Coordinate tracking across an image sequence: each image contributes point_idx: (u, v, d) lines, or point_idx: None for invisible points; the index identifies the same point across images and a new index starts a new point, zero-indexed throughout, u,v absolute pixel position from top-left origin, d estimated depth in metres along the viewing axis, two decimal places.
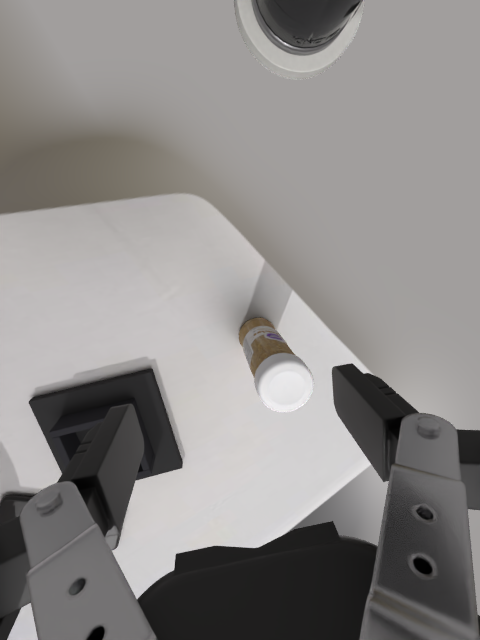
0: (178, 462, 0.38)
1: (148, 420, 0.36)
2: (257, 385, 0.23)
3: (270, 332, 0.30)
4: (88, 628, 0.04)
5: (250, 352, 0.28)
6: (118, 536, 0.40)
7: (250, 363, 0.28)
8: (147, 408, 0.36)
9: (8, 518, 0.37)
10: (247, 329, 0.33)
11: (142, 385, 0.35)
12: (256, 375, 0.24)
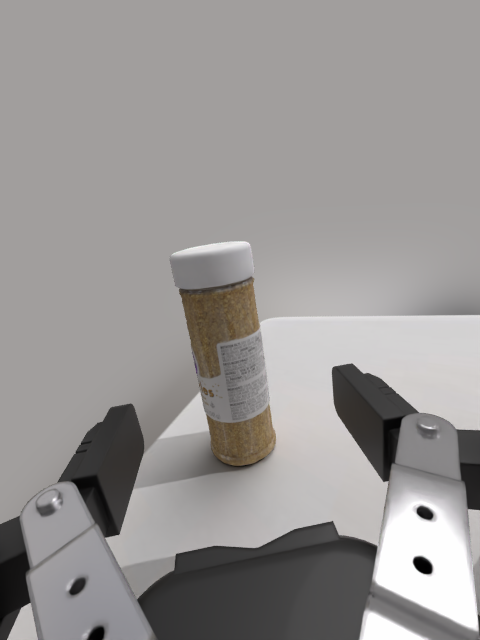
0: None
1: None
2: (222, 257, 0.15)
3: None
4: (88, 628, 0.04)
5: (225, 357, 0.16)
6: None
7: (236, 339, 0.16)
8: None
9: None
10: (227, 436, 0.18)
11: None
12: (216, 275, 0.15)
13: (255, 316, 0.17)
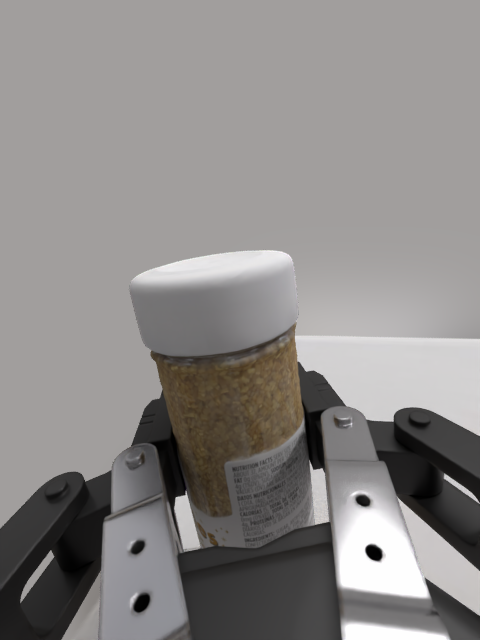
0: None
1: None
2: (240, 290, 0.06)
3: None
4: (138, 591, 0.05)
5: (242, 485, 0.08)
6: None
7: (265, 451, 0.08)
8: None
9: None
10: None
11: None
12: (225, 330, 0.07)
13: (298, 396, 0.09)
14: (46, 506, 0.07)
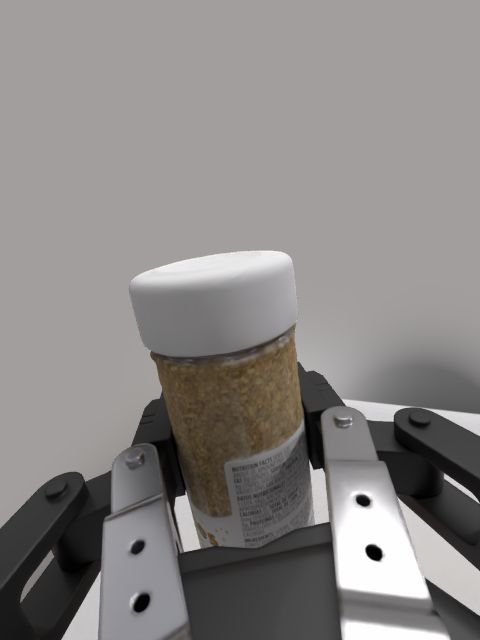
0: None
1: None
2: (239, 291, 0.06)
3: None
4: (138, 591, 0.05)
5: (241, 485, 0.08)
6: None
7: (264, 452, 0.08)
8: None
9: None
10: None
11: None
12: (224, 330, 0.07)
13: (298, 396, 0.09)
14: (46, 506, 0.07)
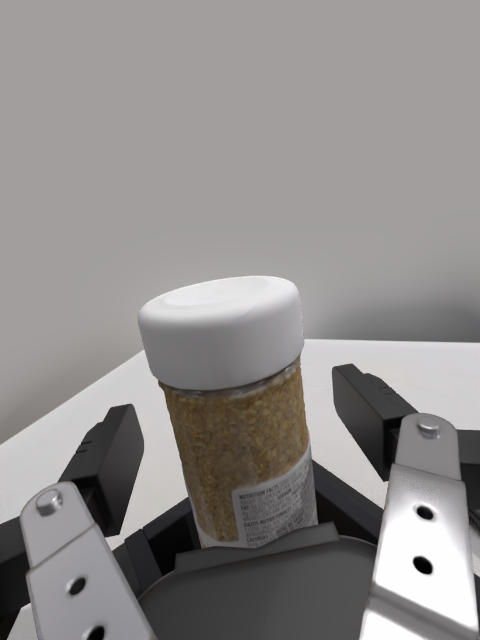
0: None
1: None
2: (248, 328, 0.07)
3: (194, 516, 0.10)
4: (88, 628, 0.04)
5: (249, 512, 0.08)
6: None
7: (271, 479, 0.08)
8: None
9: None
10: None
11: None
12: (233, 366, 0.07)
13: (304, 421, 0.09)
14: None
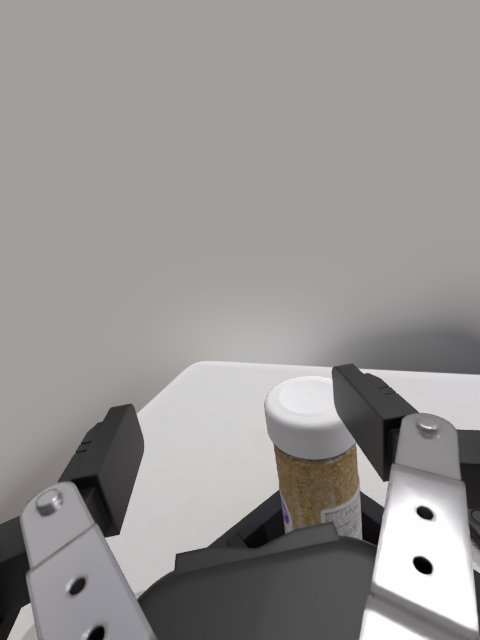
0: None
1: None
2: (337, 429, 0.13)
3: (285, 524, 0.17)
4: (88, 628, 0.04)
5: None
6: None
7: (342, 504, 0.14)
8: None
9: None
10: None
11: None
12: (329, 448, 0.13)
13: (357, 469, 0.15)
14: None
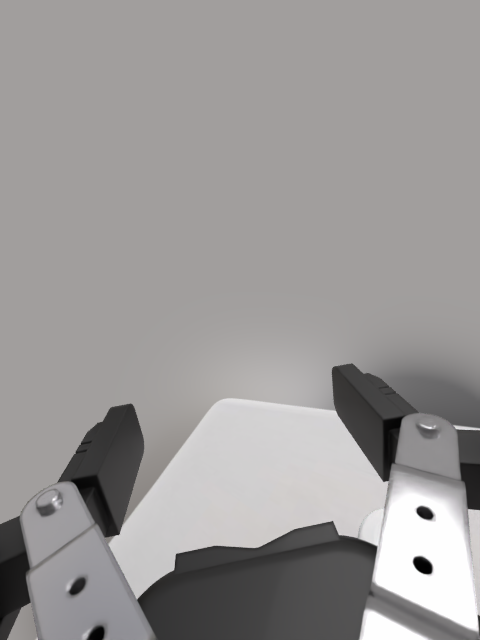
0: None
1: None
2: None
3: None
4: (88, 628, 0.04)
5: None
6: None
7: None
8: None
9: None
10: None
11: None
12: None
13: None
14: None
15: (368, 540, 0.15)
